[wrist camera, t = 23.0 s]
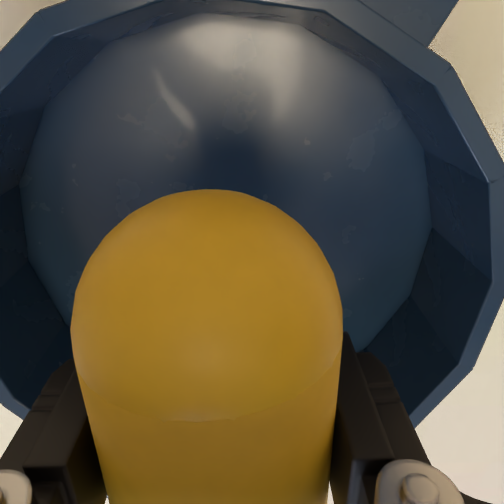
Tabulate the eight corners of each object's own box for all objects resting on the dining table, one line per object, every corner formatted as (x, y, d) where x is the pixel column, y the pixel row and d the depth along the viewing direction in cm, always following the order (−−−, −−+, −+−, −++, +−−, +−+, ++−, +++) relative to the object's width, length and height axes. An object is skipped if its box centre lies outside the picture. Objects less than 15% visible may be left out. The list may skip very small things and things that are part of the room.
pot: (-48, 352, 20) (-135, 442, 15) (142, -240, 11) (74, -437, 7) (271, 469, 23) (277, 568, 19) (585, 91, 15) (731, 107, 11)
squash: (305, 501, 13) (332, 707, 9) (158, 504, 13) (118, 713, 9) (325, 158, 9) (401, 257, 4) (99, 163, 9) (-39, 266, 4)
